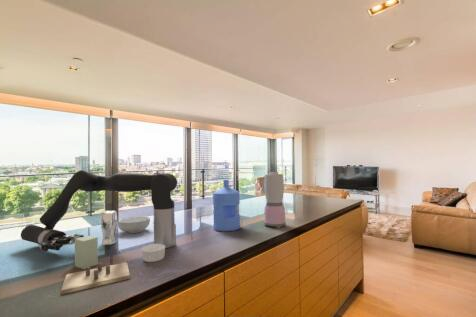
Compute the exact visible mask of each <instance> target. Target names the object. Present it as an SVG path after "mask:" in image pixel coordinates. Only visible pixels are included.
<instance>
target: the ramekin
mask: <svg viewBox="0 0 476 317" xmlns="http://www.w3.org/2000/svg"><path fill="white" fill-rule="evenodd" d="M165 247H166V246H165V245H163V244H154V243H151V244H148V245H145V246H143V247H142V248H141V252H142V259H143V261H144V262H145V263H154V262H157V261H161V260H162V259H164V258H165V254H166V253H165V252H166V248H165Z"/></svg>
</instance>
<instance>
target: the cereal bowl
mask: <svg viewBox="0 0 476 317" xmlns="http://www.w3.org/2000/svg"><path fill="white" fill-rule="evenodd" d="M150 222H151V218H150V217H149V216H133V217H126V218H121V219H119V220H118V219H117V226H118V229H119V230H120V231H122V232H125V233H127V234H137V233H141V232H142V231H143V230H145V229H147V228H148V227H149V226H150Z"/></svg>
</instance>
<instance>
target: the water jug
mask: <svg viewBox="0 0 476 317" xmlns="http://www.w3.org/2000/svg"><path fill="white" fill-rule="evenodd" d="M229 180H230V179H223V187H221V188H219V189H217V190H216V191H213V193H212V204H213V206H212V208H213V210H212V212H213V213H212V214H213V216H212V217H213V226H212V227H213V229H214V231H218V232H234V231H237V230H240V228H241V216H240V214H238V206H239V205H240V203H241V201H240V200H241V198H240V197H241V196H240V191H238V190H236V189H234V188H232V187H230V186H229V185H230V183H229Z"/></svg>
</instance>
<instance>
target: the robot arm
mask: <svg viewBox="0 0 476 317" xmlns="http://www.w3.org/2000/svg"><path fill="white" fill-rule="evenodd" d="M177 186H178V179H177V177H175V175H174V174H172V173H169V172H164V173H157V174H147V173H146V174H145V173H134V172H118V173H117V172H116V173H114V174H111V175H108V176H107V175H98V174H94V173H92V172H90V171H87V170H84V169H80V170H78V171H76V172H75V173H74V174H73V175H72V176H71V177H70V179H69V180H68V181H67V184H66V185H65V186H64V188H63V189H62V191H60V193H59V195H58V196H57V198H56V199H55V201H53V203H52V205H50V207H48V208H47V210H45V212H44V213H43V214H42V215H41V216H40V218H39V222H40V224H42V225H44V226H45V227H42V226H39V225H35V224H30V225H27V226H26V227H24V228H23V229H22V230H21V232H20V238H21V240H23V241H26V242H30V243H33V244H38V245H39V246H38V248H39V250H40V251H43V252H47V251H48V252H49V250H50V251H53V250H54V251H60V250H61V248H62V247H64V246H67V245H69V246H70V245H75V239H76V238H80V237H84V236H85V235H84V234H80V233H79V234H78V233H75V234H74V235H67V233H66V232H64V231H62V230H58V229H55V226H56V225H57V223H58V222H59V221H60V220H62V218H63V217H64V216H65V215H66V214H67V211H68V209H69V207H70V206H69V205H70V201H71V199H72V197H73V196H74V194H75V193H77V192H78V191H79V190H81V191H84V192H87V193H90V192H100V191H101V192H102V191H103V192H104V191H105V192H106V191H108V192H119V193H132V192H133V193H134V192H135V193H136V192H143V191H150V195H151V196H150V197H151V202H152V205H153V244H163V245H165V246H166V247H165V249H169V248H172V247H174V246H176V245H177V224H176V223H175V222H176V221H175V220H176V218H175V201H174V200H173V199H172V197H171V196H172V195H171V192H172V191H174V190H175V189H176V187H177Z"/></svg>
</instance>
